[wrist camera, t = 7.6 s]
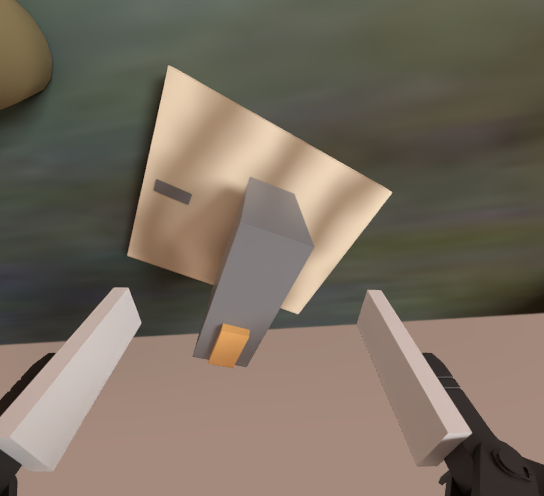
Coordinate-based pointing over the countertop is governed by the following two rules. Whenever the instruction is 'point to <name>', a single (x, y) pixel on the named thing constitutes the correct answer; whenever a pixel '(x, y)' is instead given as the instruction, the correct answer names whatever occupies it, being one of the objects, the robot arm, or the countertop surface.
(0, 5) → the squeeze bottle
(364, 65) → the countertop surface
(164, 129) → the base
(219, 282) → the grey block
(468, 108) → the countertop surface
